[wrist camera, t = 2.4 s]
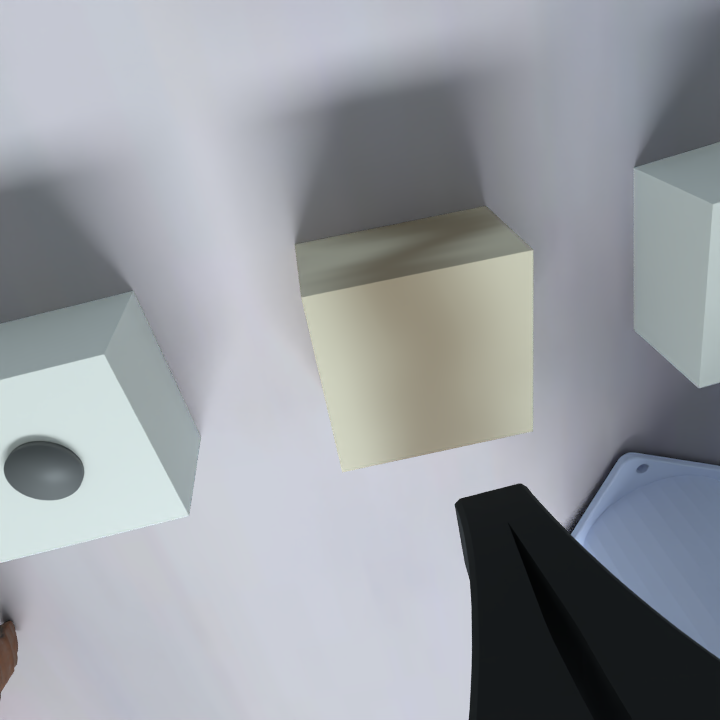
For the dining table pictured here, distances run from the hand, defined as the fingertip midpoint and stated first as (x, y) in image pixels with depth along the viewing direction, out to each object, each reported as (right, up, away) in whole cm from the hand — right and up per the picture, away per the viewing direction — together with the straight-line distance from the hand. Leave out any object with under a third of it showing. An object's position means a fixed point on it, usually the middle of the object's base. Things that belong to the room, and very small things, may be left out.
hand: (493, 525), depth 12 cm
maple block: (-1, +5, +8) cm, 10 cm away
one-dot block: (-12, +2, +8) cm, 15 cm away
